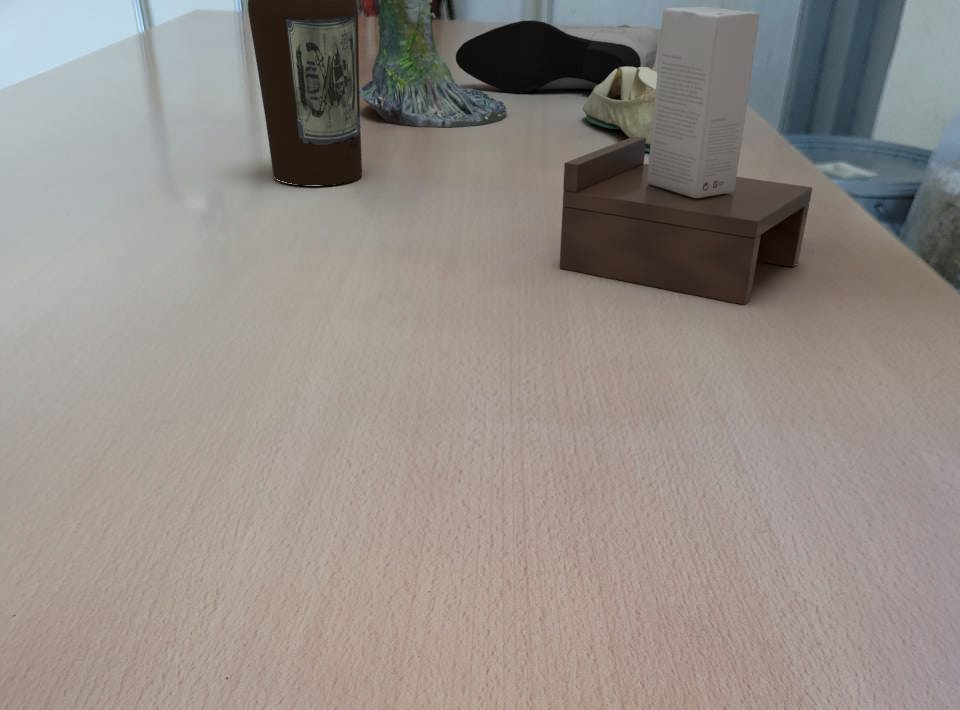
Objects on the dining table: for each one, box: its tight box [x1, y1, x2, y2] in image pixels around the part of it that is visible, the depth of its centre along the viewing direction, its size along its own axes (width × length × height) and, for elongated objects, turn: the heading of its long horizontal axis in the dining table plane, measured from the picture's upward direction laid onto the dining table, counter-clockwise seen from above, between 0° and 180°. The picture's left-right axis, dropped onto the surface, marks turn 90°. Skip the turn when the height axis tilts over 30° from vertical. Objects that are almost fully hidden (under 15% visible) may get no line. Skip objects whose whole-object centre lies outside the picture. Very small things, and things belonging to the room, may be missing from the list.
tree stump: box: [359, 0, 507, 128], centre depth 132 cm, size 18×20×18 cm
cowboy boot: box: [455, 19, 659, 94], centre depth 154 cm, size 10×28×25 cm
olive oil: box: [247, 0, 363, 186], centre depth 99 cm, size 11×11×25 cm
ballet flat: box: [582, 67, 658, 153], centre depth 123 cm, size 8×25×8 cm, turn 15°
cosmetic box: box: [647, 6, 761, 198], centre depth 75 cm, size 6×4×12 cm
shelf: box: [559, 136, 813, 305], centre depth 80 cm, size 16×12×8 cm
